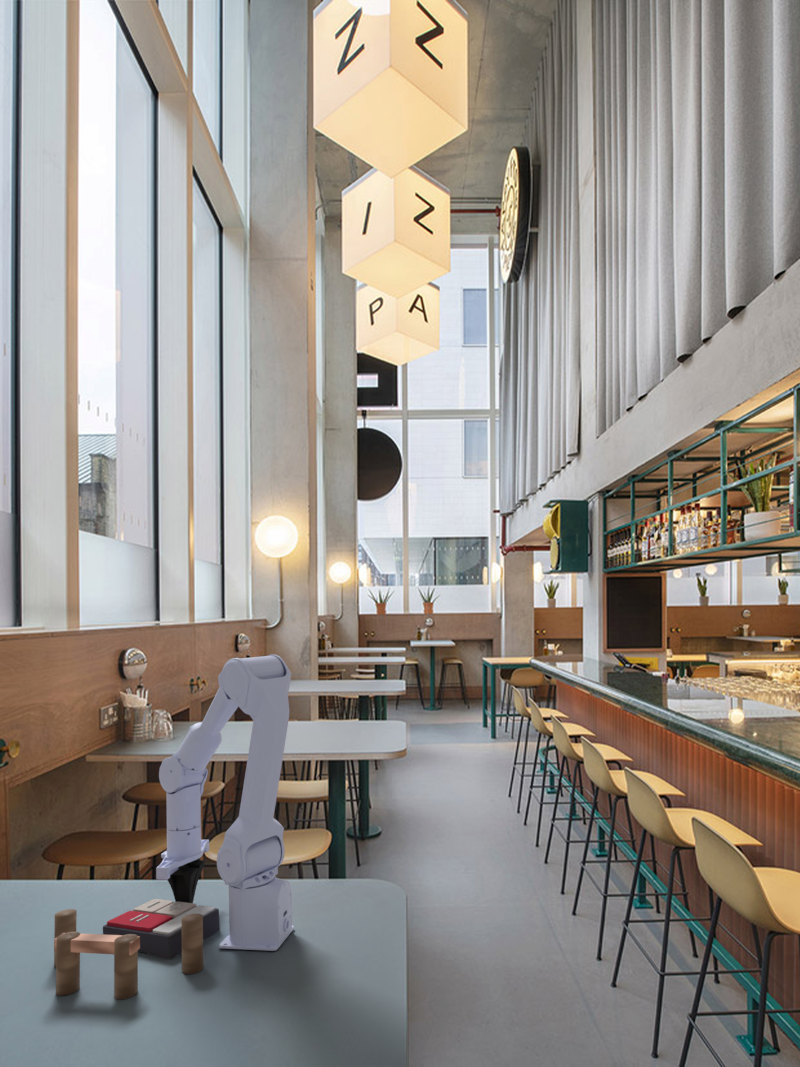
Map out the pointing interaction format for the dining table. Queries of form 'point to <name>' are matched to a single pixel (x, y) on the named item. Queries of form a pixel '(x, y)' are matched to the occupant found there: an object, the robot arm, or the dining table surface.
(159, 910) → the calculator
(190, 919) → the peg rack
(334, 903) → the dining table surface
